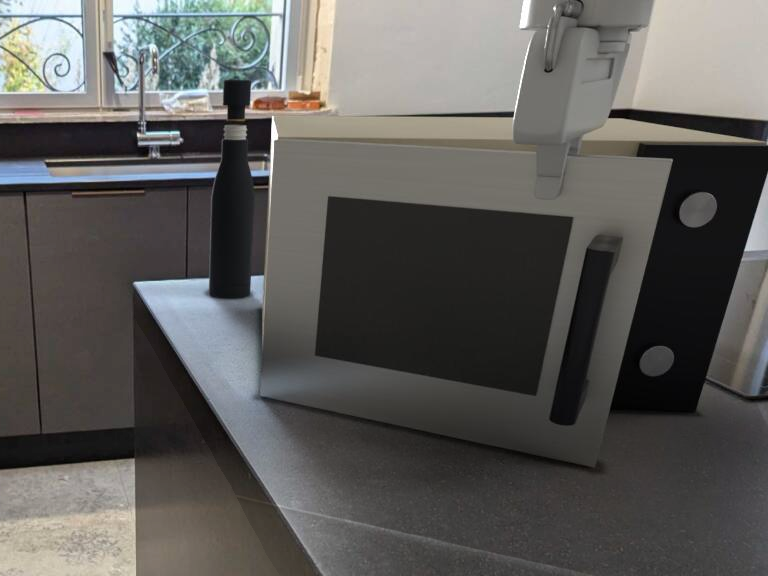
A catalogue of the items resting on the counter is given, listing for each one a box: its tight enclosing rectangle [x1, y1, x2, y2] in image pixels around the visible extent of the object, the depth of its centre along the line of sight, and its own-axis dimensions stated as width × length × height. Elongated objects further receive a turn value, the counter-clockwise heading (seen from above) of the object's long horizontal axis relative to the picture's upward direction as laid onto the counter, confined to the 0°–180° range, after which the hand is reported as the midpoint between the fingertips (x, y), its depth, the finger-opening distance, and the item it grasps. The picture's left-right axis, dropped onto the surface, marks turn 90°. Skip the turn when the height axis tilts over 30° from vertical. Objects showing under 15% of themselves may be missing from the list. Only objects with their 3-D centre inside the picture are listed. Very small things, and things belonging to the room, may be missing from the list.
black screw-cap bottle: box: [208, 79, 256, 299], centre depth 121 cm, size 6×6×30 cm
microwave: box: [261, 115, 768, 413], centre depth 96 cm, size 35×44×26 cm
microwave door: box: [259, 139, 673, 469], centre depth 73 cm, size 8×33×26 cm, turn 59°
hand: (550, 196), depth 67 cm, fingers closed on microwave door, 2 cm apart
